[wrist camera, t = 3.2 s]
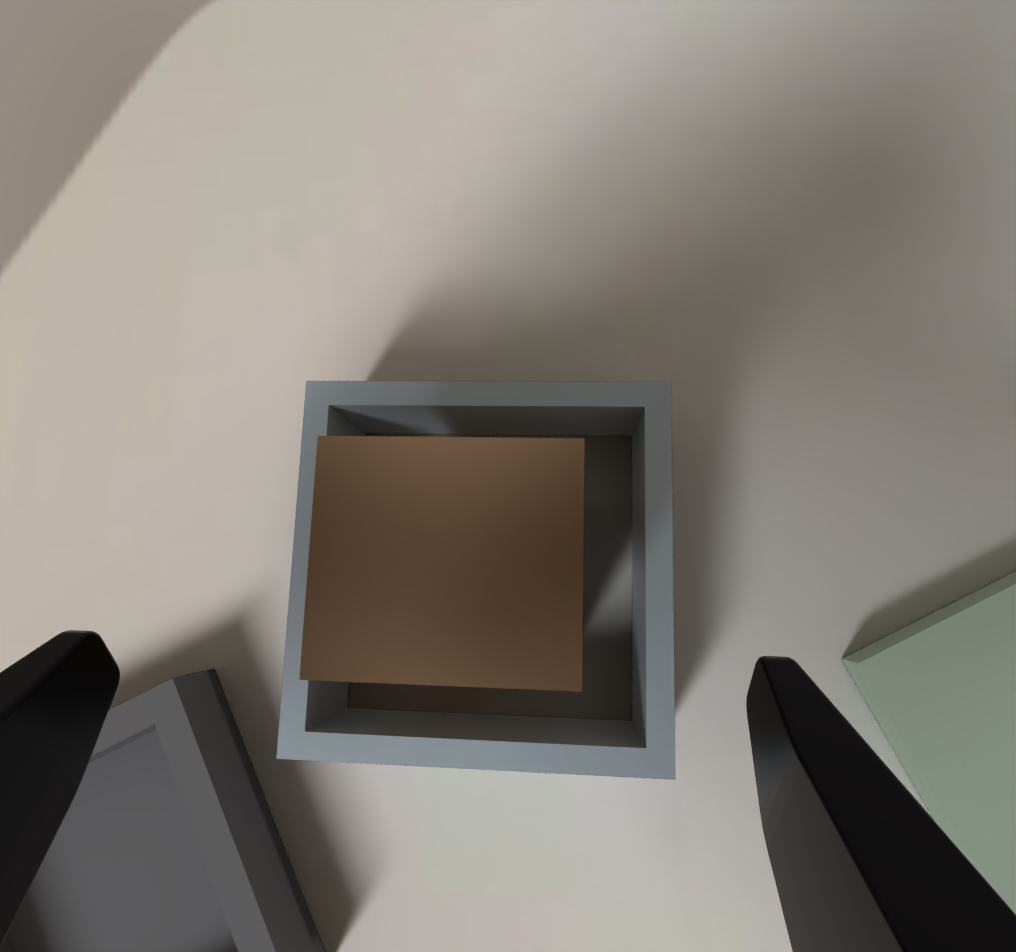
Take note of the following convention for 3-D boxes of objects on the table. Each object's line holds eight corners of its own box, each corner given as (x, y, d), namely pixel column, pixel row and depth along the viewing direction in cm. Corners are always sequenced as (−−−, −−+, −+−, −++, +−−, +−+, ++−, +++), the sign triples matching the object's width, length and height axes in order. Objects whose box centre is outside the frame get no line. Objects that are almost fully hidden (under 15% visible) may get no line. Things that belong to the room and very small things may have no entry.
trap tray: (45, 1107, 17) (-23, 1176, 15) (-48, 800, 18) (-121, 826, 16) (329, 964, 17) (298, 1013, 15) (214, 668, 18) (172, 677, 16)
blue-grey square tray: (656, 746, 17) (675, 779, 14) (323, 730, 18) (276, 758, 15) (654, 414, 19) (670, 381, 16) (345, 412, 19) (306, 380, 16)
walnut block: (574, 648, 18) (582, 691, 10) (406, 642, 18) (299, 679, 11) (576, 497, 18) (584, 438, 11) (414, 495, 19) (317, 435, 11)
